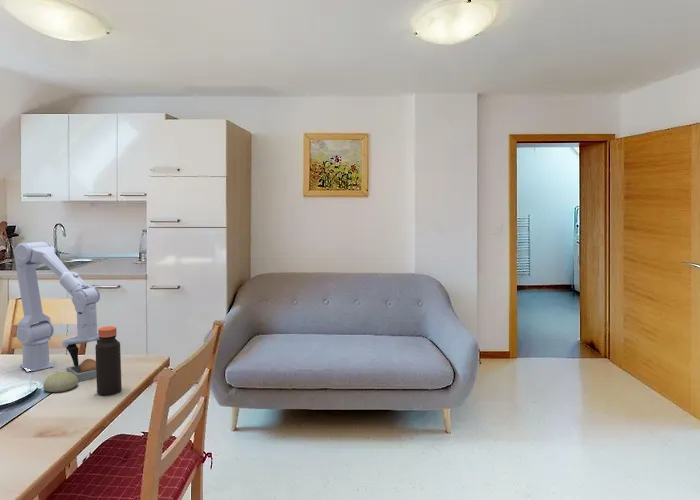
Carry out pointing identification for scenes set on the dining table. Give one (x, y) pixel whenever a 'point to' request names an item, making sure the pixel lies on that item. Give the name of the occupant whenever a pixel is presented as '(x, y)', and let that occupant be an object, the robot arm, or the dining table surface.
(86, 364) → the ball
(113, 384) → the bottle
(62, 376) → the sea urchin shell
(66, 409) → the dining table surface
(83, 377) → the corral
